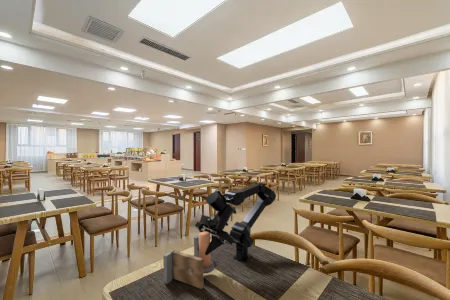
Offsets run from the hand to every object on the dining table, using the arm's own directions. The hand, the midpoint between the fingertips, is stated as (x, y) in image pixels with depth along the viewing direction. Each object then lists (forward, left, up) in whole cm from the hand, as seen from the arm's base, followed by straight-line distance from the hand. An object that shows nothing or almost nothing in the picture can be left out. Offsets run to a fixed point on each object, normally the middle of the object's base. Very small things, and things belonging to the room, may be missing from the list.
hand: (201, 252), depth 82 cm
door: (+6, -4, -9) cm, 12 cm away
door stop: (-1, 0, -7) cm, 7 cm away
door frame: (-2, -10, -10) cm, 14 cm away
